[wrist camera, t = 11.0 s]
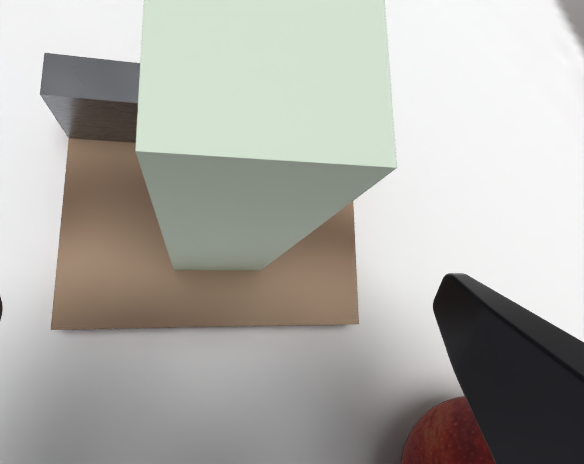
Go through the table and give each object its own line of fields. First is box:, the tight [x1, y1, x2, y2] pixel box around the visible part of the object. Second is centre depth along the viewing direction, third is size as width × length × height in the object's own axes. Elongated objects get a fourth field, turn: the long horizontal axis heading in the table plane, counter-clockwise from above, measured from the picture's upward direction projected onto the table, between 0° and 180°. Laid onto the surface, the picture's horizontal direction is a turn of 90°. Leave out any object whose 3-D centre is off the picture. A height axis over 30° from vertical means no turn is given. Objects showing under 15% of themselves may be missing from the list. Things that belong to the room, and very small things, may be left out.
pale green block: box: [135, 0, 397, 271], centre depth 12 cm, size 4×4×12 cm
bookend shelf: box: [40, 53, 359, 330], centre depth 17 cm, size 9×12×5 cm
